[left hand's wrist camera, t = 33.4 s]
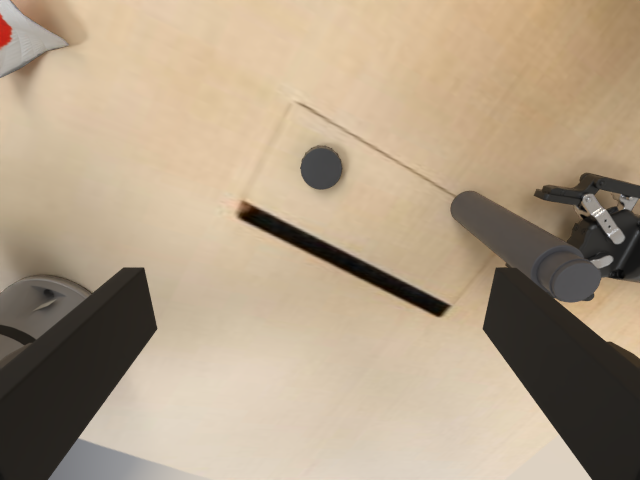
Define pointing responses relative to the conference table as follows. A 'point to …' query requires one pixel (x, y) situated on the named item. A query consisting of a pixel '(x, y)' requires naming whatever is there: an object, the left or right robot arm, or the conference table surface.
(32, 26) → the fish
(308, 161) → the lid
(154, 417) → the conference table surface
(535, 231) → the bottle
